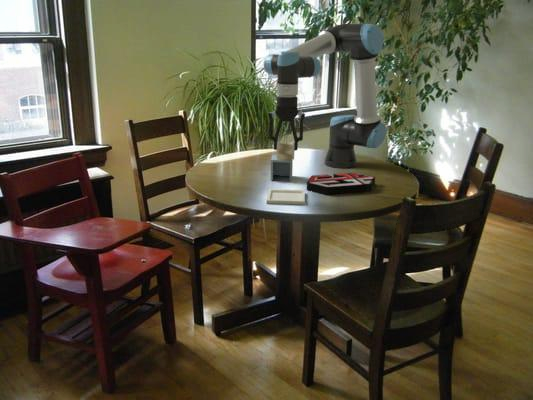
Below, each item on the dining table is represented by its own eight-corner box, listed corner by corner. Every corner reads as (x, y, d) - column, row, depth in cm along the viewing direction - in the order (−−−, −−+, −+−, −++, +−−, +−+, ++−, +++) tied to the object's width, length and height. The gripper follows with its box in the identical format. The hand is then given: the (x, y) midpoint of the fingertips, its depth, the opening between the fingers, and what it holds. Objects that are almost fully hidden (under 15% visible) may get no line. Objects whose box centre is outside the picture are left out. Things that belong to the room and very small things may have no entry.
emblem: (315, 197, 206) (384, 191, 214) (315, 188, 205) (385, 182, 213) (299, 184, 222) (364, 179, 230) (299, 176, 221) (365, 171, 229)
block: (292, 158, 202) (292, 142, 200) (291, 161, 197) (292, 145, 195) (279, 157, 202) (279, 141, 200) (278, 160, 197) (278, 144, 196)
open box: (292, 175, 234) (292, 155, 231) (291, 181, 225) (292, 160, 223) (271, 175, 235) (272, 154, 232) (270, 180, 226) (270, 159, 223)
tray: (304, 193, 210) (304, 190, 209) (304, 205, 196) (304, 201, 196) (269, 192, 210) (269, 189, 210) (266, 203, 197) (266, 200, 197)
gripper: (261, 96, 189) (260, 160, 197) (312, 97, 188) (309, 161, 195) (263, 93, 197) (262, 155, 204) (312, 95, 195) (309, 157, 202)
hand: (285, 158), depth 199 cm, fingers closed on block, 5 cm apart
